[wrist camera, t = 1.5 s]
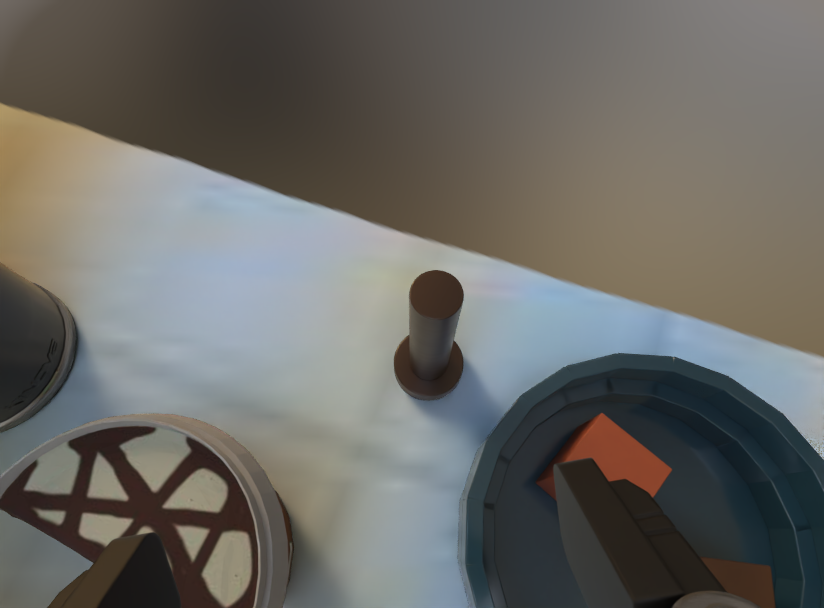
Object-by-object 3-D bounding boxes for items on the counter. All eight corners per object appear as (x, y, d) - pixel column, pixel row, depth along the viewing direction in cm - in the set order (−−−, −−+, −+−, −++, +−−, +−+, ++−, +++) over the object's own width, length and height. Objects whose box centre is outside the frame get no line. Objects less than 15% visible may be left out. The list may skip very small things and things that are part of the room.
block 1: (534, 482, 29) (553, 476, 25) (578, 426, 30) (601, 412, 26) (597, 536, 28) (625, 538, 24) (639, 476, 29) (673, 469, 25)
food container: (361, 500, 29) (338, 488, 20) (305, 618, 27) (251, 666, 18) (170, 404, 31) (68, 353, 22) (104, 508, 29) (-39, 500, 20)
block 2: (646, 640, 26) (685, 659, 22) (643, 550, 28) (679, 553, 24) (731, 651, 26) (784, 672, 22) (723, 560, 27) (771, 565, 24)
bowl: (406, 650, 27) (405, 677, 22) (515, 335, 33) (532, 305, 28) (770, 821, 24) (855, 891, 20) (814, 446, 30) (886, 432, 26)
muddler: (383, 385, 32) (371, 319, 21) (409, 326, 33) (409, 237, 23) (447, 411, 31) (466, 356, 21) (471, 349, 32) (499, 269, 22)
